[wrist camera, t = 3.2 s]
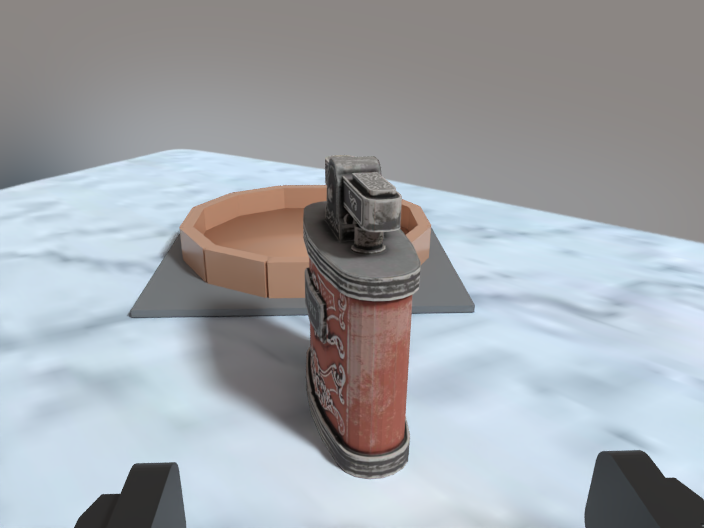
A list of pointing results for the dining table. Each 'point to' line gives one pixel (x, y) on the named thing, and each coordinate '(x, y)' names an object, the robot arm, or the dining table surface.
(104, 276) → the dining table surface
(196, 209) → the dish
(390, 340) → the lighter
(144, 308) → the mat
